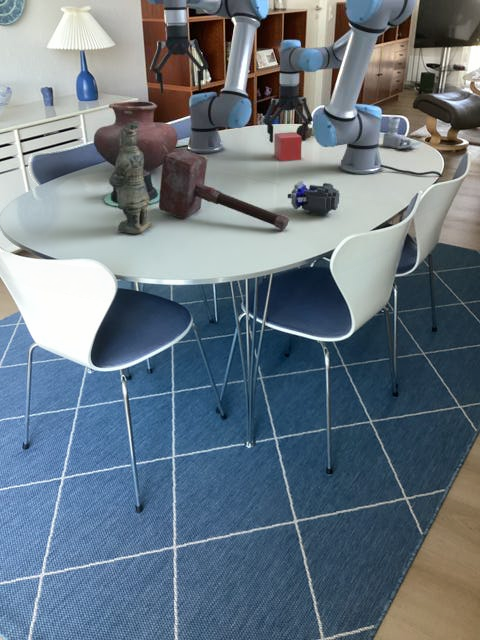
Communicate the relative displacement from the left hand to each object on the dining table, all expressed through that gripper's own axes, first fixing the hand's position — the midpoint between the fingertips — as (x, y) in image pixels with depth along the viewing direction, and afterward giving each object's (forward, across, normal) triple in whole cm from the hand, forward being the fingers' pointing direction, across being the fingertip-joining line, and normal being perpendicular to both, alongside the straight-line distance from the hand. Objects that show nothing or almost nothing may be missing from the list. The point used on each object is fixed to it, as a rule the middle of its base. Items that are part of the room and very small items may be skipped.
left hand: (181, 91), depth 198 cm
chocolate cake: (+29, +21, +26) cm, 44 cm away
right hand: (+22, -43, -10) cm, 50 cm away
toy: (+29, -31, +57) cm, 71 cm away
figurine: (+29, -67, -44) cm, 85 cm away
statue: (+29, +23, +56) cm, 67 cm away
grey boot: (+29, -94, -10) cm, 99 cm away
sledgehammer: (+29, -4, +56) cm, 63 cm away
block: (+29, -43, -9) cm, 53 cm away
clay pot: (+29, +17, -6) cm, 34 cm away
